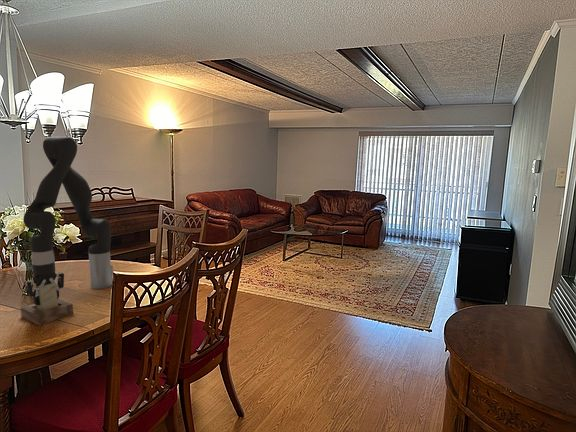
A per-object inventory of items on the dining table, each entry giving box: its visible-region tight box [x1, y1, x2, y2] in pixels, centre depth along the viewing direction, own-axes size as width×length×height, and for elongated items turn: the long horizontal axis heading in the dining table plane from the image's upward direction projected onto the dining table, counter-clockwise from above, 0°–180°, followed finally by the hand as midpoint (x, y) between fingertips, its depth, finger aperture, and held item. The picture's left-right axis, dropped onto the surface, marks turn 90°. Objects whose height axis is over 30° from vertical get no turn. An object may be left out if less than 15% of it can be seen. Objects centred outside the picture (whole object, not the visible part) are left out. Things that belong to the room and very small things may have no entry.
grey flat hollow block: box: [20, 298, 74, 326], centre depth 152 cm, size 13×13×4 cm
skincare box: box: [33, 282, 58, 311], centre depth 152 cm, size 6×4×12 cm
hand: (46, 301), depth 152 cm, fingers open, 6 cm apart
